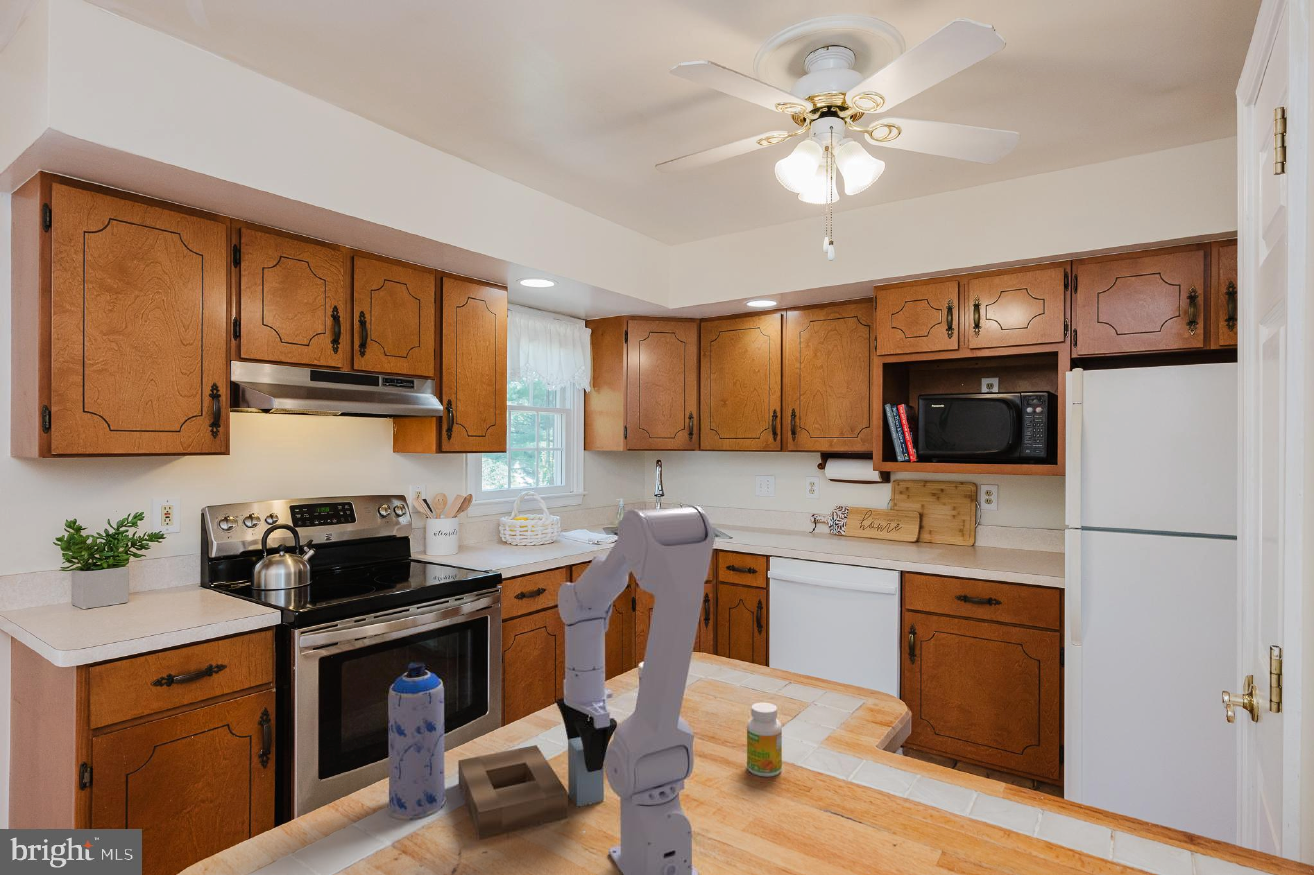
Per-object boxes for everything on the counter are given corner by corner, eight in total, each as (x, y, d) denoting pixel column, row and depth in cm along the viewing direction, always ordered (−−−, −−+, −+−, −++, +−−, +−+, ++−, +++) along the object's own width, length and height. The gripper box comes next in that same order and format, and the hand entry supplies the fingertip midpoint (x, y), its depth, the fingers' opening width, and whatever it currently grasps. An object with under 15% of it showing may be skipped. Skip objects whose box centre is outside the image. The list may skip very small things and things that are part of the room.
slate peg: (603, 801, 100) (603, 745, 100) (577, 807, 99) (576, 750, 99) (594, 788, 104) (593, 734, 104) (568, 794, 102) (568, 739, 102)
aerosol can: (457, 799, 101) (456, 660, 101) (413, 826, 94) (412, 677, 94) (420, 785, 105) (419, 652, 105) (375, 810, 98) (374, 667, 98)
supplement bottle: (741, 772, 109) (741, 710, 108) (753, 758, 113) (753, 698, 113) (775, 780, 106) (775, 716, 106) (786, 765, 111) (786, 704, 111)
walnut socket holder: (567, 817, 96) (567, 792, 96) (479, 839, 91) (478, 812, 91) (536, 767, 111) (536, 745, 111) (458, 783, 106) (458, 760, 105)
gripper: (630, 676, 96) (630, 774, 97) (594, 646, 110) (594, 733, 110) (581, 684, 93) (581, 786, 94) (550, 653, 107) (550, 742, 107)
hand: (585, 758), depth 101 cm, fingers open, 7 cm apart
